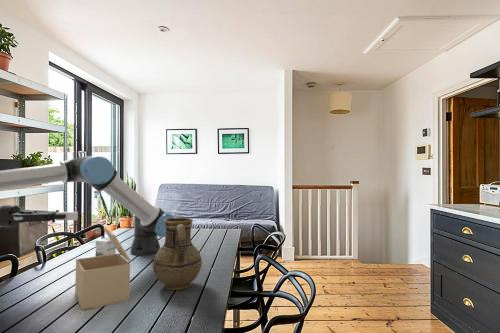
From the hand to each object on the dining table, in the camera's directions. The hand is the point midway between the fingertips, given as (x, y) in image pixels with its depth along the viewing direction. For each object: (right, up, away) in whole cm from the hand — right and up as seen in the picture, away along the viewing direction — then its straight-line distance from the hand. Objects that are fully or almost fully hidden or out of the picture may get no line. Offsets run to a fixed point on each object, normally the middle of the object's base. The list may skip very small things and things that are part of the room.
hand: (76, 216), depth 109 cm
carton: (+10, -27, -3) cm, 29 cm away
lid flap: (+14, -10, 0) cm, 17 cm away
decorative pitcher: (+33, -28, +8) cm, 44 cm away
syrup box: (0, -28, +21) cm, 34 cm away
